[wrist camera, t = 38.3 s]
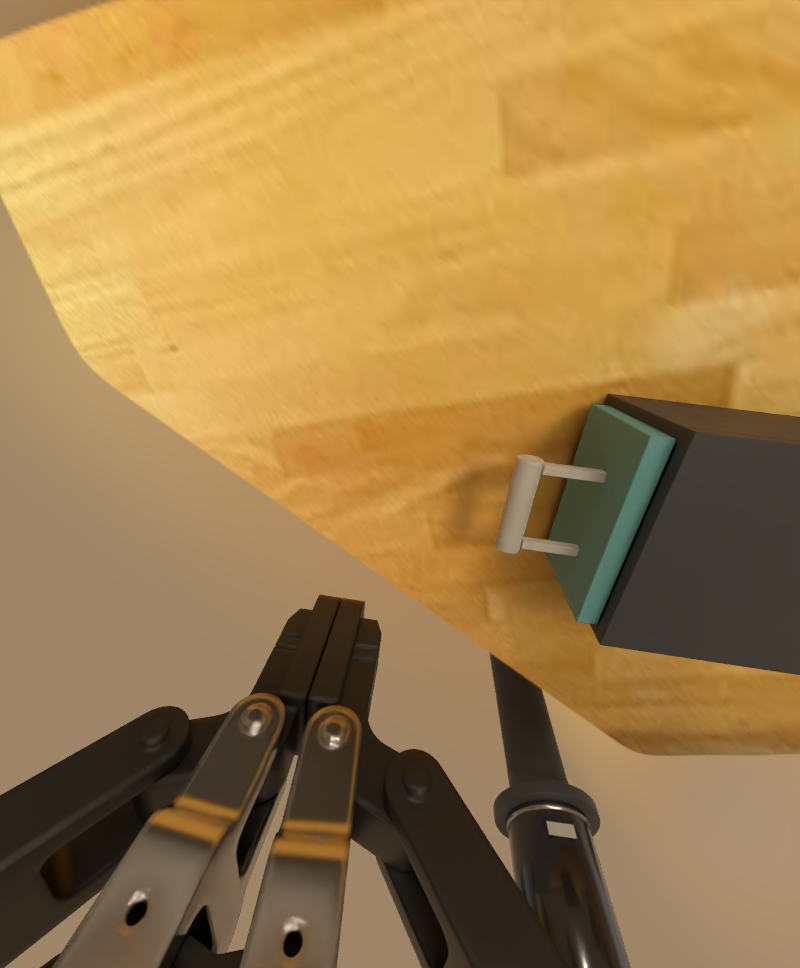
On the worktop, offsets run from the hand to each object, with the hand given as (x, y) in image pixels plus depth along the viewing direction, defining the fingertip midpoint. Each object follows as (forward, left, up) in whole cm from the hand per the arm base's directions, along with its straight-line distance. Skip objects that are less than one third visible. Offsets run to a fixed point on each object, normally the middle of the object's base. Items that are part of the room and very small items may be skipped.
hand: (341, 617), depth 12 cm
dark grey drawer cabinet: (0, -21, -17) cm, 26 cm away
